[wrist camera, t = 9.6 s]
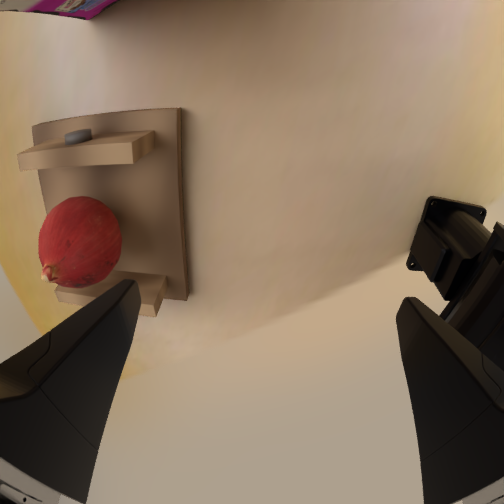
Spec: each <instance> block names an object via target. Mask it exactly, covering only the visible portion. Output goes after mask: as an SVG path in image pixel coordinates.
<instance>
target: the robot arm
mask: <svg viewBox="0 0 504 504" xmlns="http://www.w3.org/2000/svg"><path fill="white" fill-rule="evenodd" d="M433 201H434V204H433V205H431V203H432V202H433ZM481 212H482V213H481ZM480 213H481V214H480ZM486 213H487V212H486V209H485V208H484V207H482V206H478V205H474V204H470V203H465V202H460V201H456V200H451V199H446V198H441V197H436V196H430V197H429V198H428V199H427V201H426V204H425V208H424V211H423V214H422V218H421V221H420V223H419V225H418V228H417V231H416V234H415V237H414V240H413V243H412V246H411V249H410V250H411V251H410V254H409V257H408V259H407V262H406V266H407V268H408V269H409V270H412V271H424V272H425V273H426V275H427V277H428V279H429V280H430V282H434V284H435V286H436V287H437V289H438V290H439V292H440V294H441V295H442V297H443V299H444V300H445V301H450V302H449V303H448V305H447V306H446V307H445V309H444V310H443V311H442V313H441V314H440V315H439V316H438V315H437V314H436V313H435V312H433V311H432V310H431V309H430V308H429V307H427V306H426V305H424V303H422V302H421V301H420V300H419V299H417V298H416V297H405V298H404V300H403V302H402V304H401V306H400V308H399V311H398V313H397V315H396V324H397V330H398V336H399V343H400V351H401V357H402V362H403V366H404V371H405V375H406V379H407V384H408V388H409V393H410V399H411V404H412V410H413V414H414V421H415V427H416V433H417V439H418V447H419V455H420V461H421V473H422V483H423V496H424V504H454V503H456V502H458V501H461V500H462V501H463V504H504V225H502V224H501V223H499V222H496V224H495V226H494V228H493V229H494V231H493V232H492V233H490V232H489V231H488V230H487V229H486V228H485V227H484V226H483V222H484V219H485V216H486ZM412 263H413V265H411V264H412ZM140 307H141V295H140V291H139V286H138V282H137V281H136V280H135V279H124V280H122V281H121V282H119V283H118V284H116V285H115V286H113V287H112V288H110V289H109V290H107V291H106V292H104V293H103V294H101V295H100V296H98V297H97V298H96V299H94V300H93V301H91V302H90V303H88V304H87V305H85V306H84V307H83V308H81V309H80V310H78V311H77V312H75V313H74V314H73V315H71V316H70V317H68V318H67V319H66V320H64V321H63V322H61V323H60V324H59V325H57V326H56V327H54V328H53V329H52V330H51V332H50V331H49V332H47V333H46V334H45V335H43V336H42V337H41V338H39V339H38V340H36V341H35V342H33V343H32V344H31V345H29V346H27V347H26V348H24V349H23V350H21V351H20V352H18V353H17V354H15V355H13V356H12V357H10V358H9V359H7V360H5V361H4V362H2V363H1V364H0V504H58V502H59V498H60V495H61V494H62V495H64V496H66V497H68V498H71V499H73V500H75V501H78V502H80V503H83V504H86V501H87V497H88V492H89V487H90V483H91V479H92V475H93V470H94V466H95V462H96V458H97V454H98V449H99V446H100V442H101V439H102V435H103V432H104V428H105V424H106V421H107V418H108V414H109V411H110V408H111V404H112V401H113V398H114V395H115V392H116V388H117V385H118V382H119V379H120V376H121V373H122V370H123V367H124V364H125V361H126V359H127V356H128V353H129V350H130V347H131V344H132V340H133V336H134V332H135V328H136V324H137V319H138V315H139V311H140Z"/></svg>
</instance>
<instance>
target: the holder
mask: <svg viewBox="0 0 504 504" xmlns="http://www.w3.org/2000/svg"><path fill="white" fill-rule="evenodd" d="M32 133H33V142H34V146H33V147H31V148H29V149H27V150H25V151H23V152H21V153H19V154H17V157H18V163H19V169H20V171H27V170H37V169H38V175H39V180H40V185H41V190H42V195H43V200H44V204H45V209H46V213H47V215H48V214H49V212H50V211H51V210H52V209H53V208H54V207H55V206H57V205H58V204H60V203H61V202H63V201H64V200H66V199H68V198H69V197H78V196H87V197H91V198H94V199H97V200H99V201H101V202H102V203H104V204H105V205H106V206H107V207H108V208H110V209H111V211H112V212H113V214H114V216H115V217H116V219H117V220H118V224H119V228H120V232H121V236H122V247H121V255H120V258H119V261H118V262H117V264H116V265H115V267H114V268H113V270H112V271H111V273H110V274H109V275H108V276H107V277H106V278H105V279H104V280H102V281H100V282H99V283H96V284H93V285H91V286H88V287H85V288H78V289H76V288H68V287H62V286H60V285H58V286H57V287H56V289H55V290H54V291H55V294H56V296H57V299H58V301H59V302H63V303H69V304H74V305H79V306H85V305H87V304H88V303H90V302H91V301H93V300H94V299H96V298H97V297H98V296H100V295H101V294H103V293H104V292H106V291H107V290H109V289H110V288H112V287H113V286H115V285H116V284H118V283H119V282H121V281H122V280H124V279H135V280H136V281H137V282H138V286H139V291H140V295H141V307H140V311H139V315H143V316H150V317H156V316H157V313H158V311H159V308H160V305H161V303H162V300H163V298H164V299H174V300H184V301H187V299H188V296H189V284H188V273H187V261H186V248H185V233H184V216H183V195H182V168H181V108H161V109H144V110H131V111H120V112H110V113H101V114H94V115H86V116H79V117H73V118H67V119H61V120H55V121H50V122H45V123H40V124H37V125H34V126H32Z"/></svg>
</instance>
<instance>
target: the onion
mask: <svg viewBox="0 0 504 504" xmlns="http://www.w3.org/2000/svg"><path fill="white" fill-rule="evenodd" d="M121 247H122V236H121V232H120V228H119V224H118V220H117V219H116V217H115V216H114V214H113V212H112V211H111V209H110V208H108V207H107V206H106V205H105V204H104V203H102V202H101V201H99V200H97V199H94V198H91V197H87V196H78V197H69V198H68V199H66V200H64V201H63V202H61V203H60V204H58V205H57V206H55V207H54V208H53V209H52V210H51V211H50V212H49V214H48V215H47V217H46V219H45V221H44V223H43V225H42V228H41V230H40V233H39V258H40V261H41V264H42V267H43V269H42V272H41V279H42V280H43V281H45V282H49V283H57V284H58V285H60V286H62V287H68V288H76V289H78V288H85V287H88V286H91V285H93V284H96V283H99V282H100V281H102V280H104V279H105V278H106V277H107V276H108V275H109V274H110V273H111V271H112V270H113V268H114V267H115V265H116V264H117V262H118V261H119V258H120V255H121Z"/></svg>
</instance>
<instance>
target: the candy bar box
mask: <svg viewBox="0 0 504 504" xmlns="http://www.w3.org/2000/svg"><path fill="white" fill-rule="evenodd" d="M118 1H120V0H0V11H17V12H34V13H43V14H51V15H58V16H65V17H72V18H78V19H83V20H89V19H91V18H92V17H94V16H95V15H97V14H98V13H100V12H102V11H103V10H105V9H106V8H108V7H110V6H111V5H113V4H115V3H116V2H118Z"/></svg>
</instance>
